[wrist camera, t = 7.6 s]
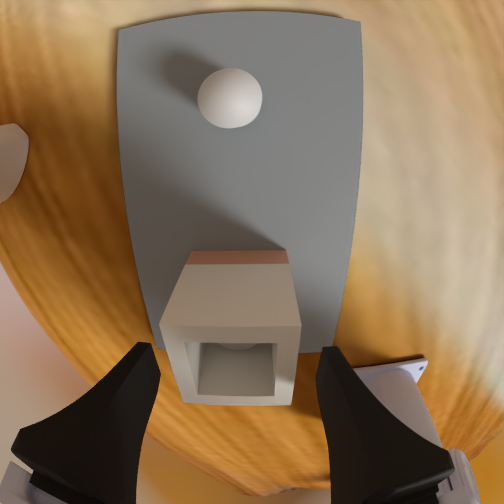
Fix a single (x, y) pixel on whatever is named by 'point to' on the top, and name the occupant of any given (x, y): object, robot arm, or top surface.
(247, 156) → the pin board
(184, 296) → the sleeve
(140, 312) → the top surface
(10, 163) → the eye dropper bottle
